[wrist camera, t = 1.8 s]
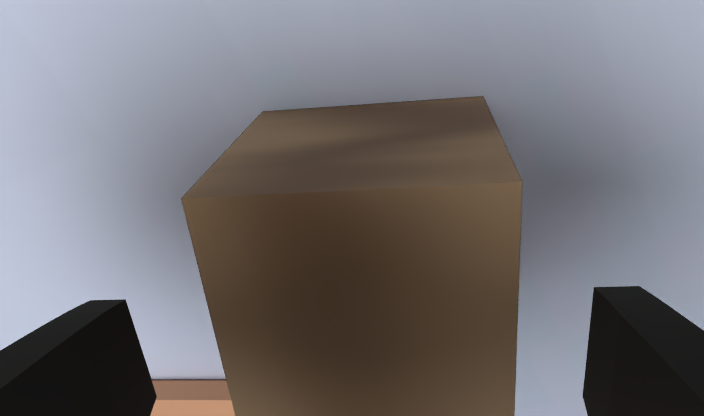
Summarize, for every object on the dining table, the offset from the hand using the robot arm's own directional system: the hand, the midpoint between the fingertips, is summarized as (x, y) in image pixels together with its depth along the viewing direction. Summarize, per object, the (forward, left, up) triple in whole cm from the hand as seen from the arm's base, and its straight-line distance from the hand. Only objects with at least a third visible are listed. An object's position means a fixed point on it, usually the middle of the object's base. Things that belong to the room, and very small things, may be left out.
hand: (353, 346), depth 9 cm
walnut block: (0, 0, -6) cm, 6 cm away
